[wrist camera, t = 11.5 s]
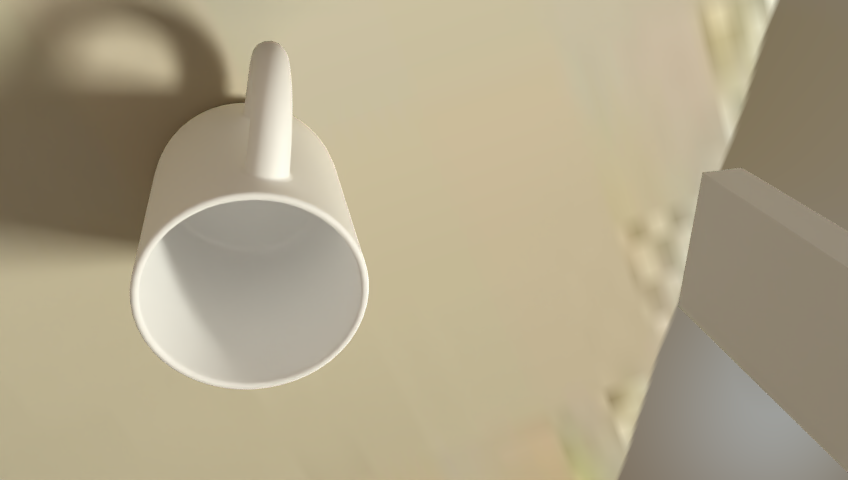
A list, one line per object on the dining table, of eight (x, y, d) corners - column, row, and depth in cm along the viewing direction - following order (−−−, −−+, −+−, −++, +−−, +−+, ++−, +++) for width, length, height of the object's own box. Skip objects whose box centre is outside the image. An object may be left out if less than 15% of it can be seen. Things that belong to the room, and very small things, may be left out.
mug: (168, -4, 30) (142, 62, 21) (363, 32, 32) (413, 104, 24) (150, 249, 35) (123, 387, 26) (320, 263, 37) (347, 393, 29)
